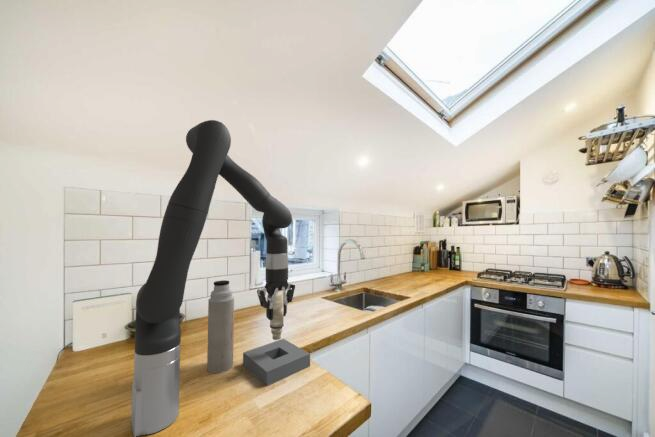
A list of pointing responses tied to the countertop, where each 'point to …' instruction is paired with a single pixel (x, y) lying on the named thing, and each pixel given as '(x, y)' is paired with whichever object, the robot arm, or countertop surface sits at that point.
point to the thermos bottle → (220, 328)
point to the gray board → (275, 361)
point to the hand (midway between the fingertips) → (276, 317)
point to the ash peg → (277, 316)
